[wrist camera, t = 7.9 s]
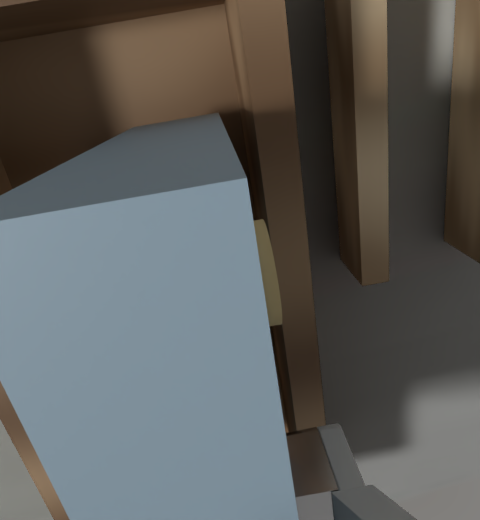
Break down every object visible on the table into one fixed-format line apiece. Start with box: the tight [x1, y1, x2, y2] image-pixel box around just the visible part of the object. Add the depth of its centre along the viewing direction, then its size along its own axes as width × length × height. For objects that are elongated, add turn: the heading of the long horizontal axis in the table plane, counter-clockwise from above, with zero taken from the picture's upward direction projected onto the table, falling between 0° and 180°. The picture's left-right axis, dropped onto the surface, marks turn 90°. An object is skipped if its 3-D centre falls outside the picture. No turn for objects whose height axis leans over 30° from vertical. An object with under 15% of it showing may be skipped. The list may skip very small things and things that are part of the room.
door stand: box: [324, 0, 480, 286], centre depth 13 cm, size 15×5×2 cm, turn 9°
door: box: [0, 113, 299, 520], centre depth 10 cm, size 14×3×9 cm, turn 9°
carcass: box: [0, 0, 326, 520], centre depth 15 cm, size 22×10×5 cm, turn 9°
